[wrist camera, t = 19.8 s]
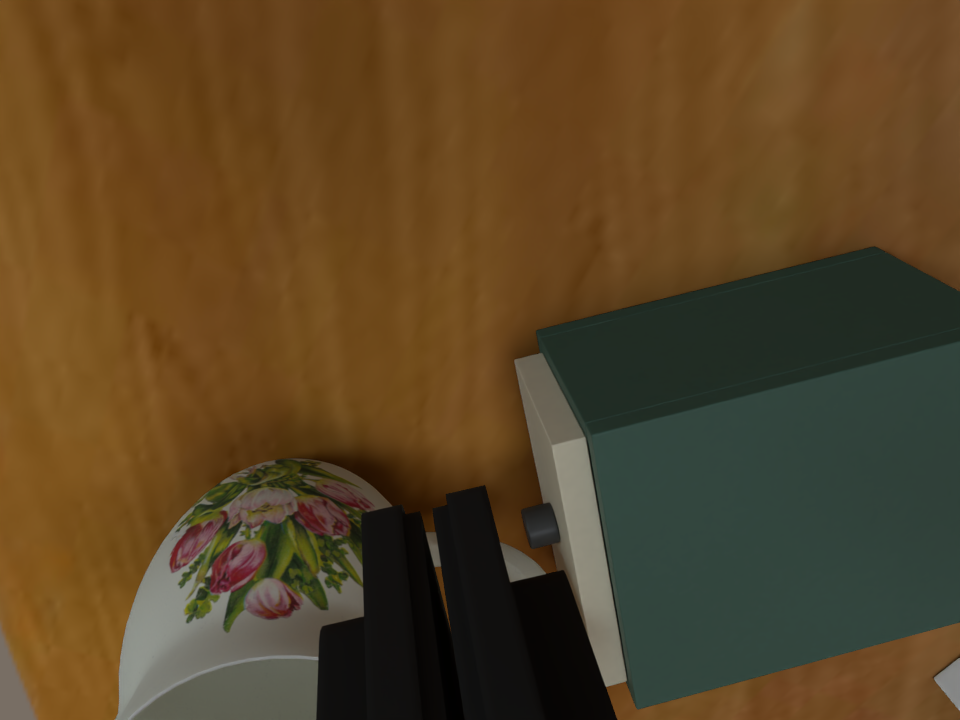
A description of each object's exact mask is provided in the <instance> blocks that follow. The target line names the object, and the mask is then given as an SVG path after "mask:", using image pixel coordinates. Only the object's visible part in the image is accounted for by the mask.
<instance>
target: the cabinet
mask: <svg viewBox="0 0 960 720" xmlns="http://www.w3.org/2000/svg"><path fill="white" fill-rule="evenodd" d="M536 334H537V339H538V345H539V350H540V353H543V355H544V356H545V358H546V360H547V362H548V364H549V366H550V368H551V370H552V372H553V374H554V376H555V378H556V380H557V382H558V384H559V386H560V387H561V389H562V391H563V393H564V395H565V397H566V399H567V401H568V403H569V405H570V407H571V409H572V411H573V413H574V415H575V417H576V419H577V420H578V422H579V424H580V426H581V428H582V430H583V432H584V434H585V436H586V439H587V444H588V450H589V456H590V462H591V468H592V474H593V480H594V486H595V492H596V498H597V503H598V509H599V515H600V521H601V527H602V533H603V539H604V545H605V551H606V557H607V562H608V568H609V574H610V580H611V586H612V592H613V598H614V604H615V610H616V616H617V621H618V627H619V633H620V639H621V645H622V651H623V657H624V663H625V669H626V675H627V681H626V683H627V686H628V688H629V691H630V692H631V696H632V699H633V701H634V704H635V706H636V708H637V709H641V708H645V707H649V706H652V705H656V704H660V703H663V702H667V701H671V700H675V699H678V698H682V697H686V696H689V695H693V694H697V693H700V692H704V691H708V690H711V689H715V688H719V687H723V686H726V685H730V684H734V683H737V682H741V681H745V680H748V679H752V678H756V677H760V676H763V675H767V674H771V673H774V672H778V671H782V670H785V669H789V668H793V667H796V666H800V665H804V664H808V663H811V662H815V661H819V660H822V659H826V658H830V657H833V656H837V655H841V654H845V653H848V652H852V651H856V650H859V649H863V648H867V647H870V646H874V645H878V644H881V643H885V642H889V641H893V640H896V639H900V638H904V637H907V636H911V635H915V634H918V633H922V632H926V631H930V630H933V629H937V628H941V627H944V626H948V625H952V624H955V623H959V622H960V292H959V291H957V290H956V289H954V288H952V287H950V286H948V285H946V284H944V283H943V282H941V281H939V280H937V279H935V278H933V277H931V276H929V275H928V274H926V273H924V272H922V271H920V270H918V269H916V268H914V267H913V266H911V265H909V264H907V263H905V262H903V261H901V260H899V259H898V258H896V257H894V256H892V255H890V254H888V253H885V252H884V251H883V250H881V249H879V248H877V247H871V248H867V249H863V250H859V251H855V252H851V253H847V254H843V255H838V256H834V257H830V258H826V259H822V260H818V261H814V262H810V263H806V264H802V265H798V266H794V267H790V268H786V269H782V270H778V271H774V272H770V273H766V274H762V275H758V276H754V277H750V278H746V279H742V280H738V281H734V282H730V283H726V284H722V285H718V286H713V287H709V288H705V289H701V290H697V291H693V292H689V293H685V294H681V295H677V296H673V297H669V298H665V299H661V300H657V301H653V302H649V303H645V304H641V305H637V306H633V307H629V308H625V309H621V310H617V311H613V312H609V313H605V314H601V315H597V316H592V317H588V318H584V319H580V320H576V321H572V322H568V323H564V324H560V325H556V326H552V327H548V328H544V329H540V330H537V331H536Z"/></svg>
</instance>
